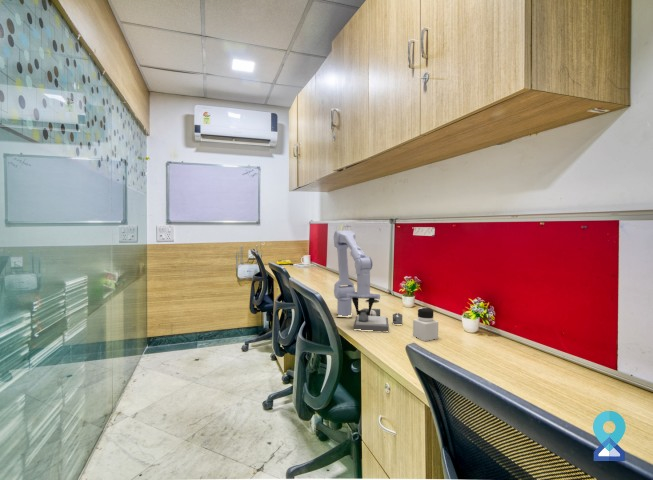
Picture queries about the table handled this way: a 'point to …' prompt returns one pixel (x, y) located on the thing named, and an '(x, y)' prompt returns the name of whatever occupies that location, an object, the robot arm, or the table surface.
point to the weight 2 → (397, 318)
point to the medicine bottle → (425, 325)
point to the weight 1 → (363, 315)
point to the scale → (373, 322)
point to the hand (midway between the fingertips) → (363, 314)
